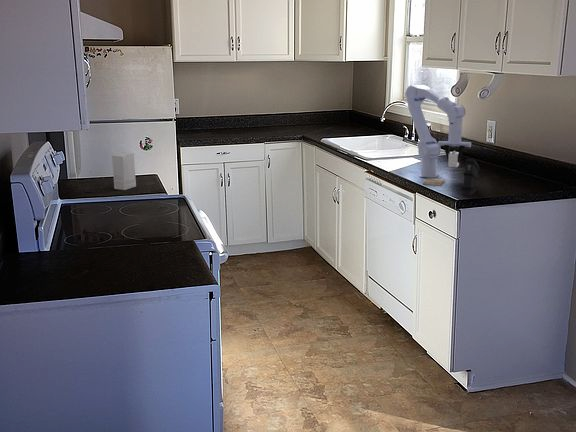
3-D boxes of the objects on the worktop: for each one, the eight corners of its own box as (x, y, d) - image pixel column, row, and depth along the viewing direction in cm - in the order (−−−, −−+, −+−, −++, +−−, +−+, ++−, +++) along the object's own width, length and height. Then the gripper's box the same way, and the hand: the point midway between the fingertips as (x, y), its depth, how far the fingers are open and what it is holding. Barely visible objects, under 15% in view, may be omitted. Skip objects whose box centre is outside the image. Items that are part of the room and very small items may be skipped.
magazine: (460, 193, 272) (465, 158, 274) (466, 200, 283) (472, 167, 286) (469, 193, 270) (474, 158, 272) (475, 201, 282) (481, 167, 284)
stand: (426, 181, 305) (426, 177, 304) (443, 182, 302) (443, 179, 301) (423, 184, 297) (423, 181, 297) (440, 185, 295) (441, 182, 294)
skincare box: (126, 185, 304) (123, 152, 300) (137, 186, 301) (134, 153, 297) (113, 189, 297) (110, 154, 293) (124, 190, 294) (122, 155, 290)
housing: (449, 164, 306) (450, 150, 304) (458, 165, 304) (459, 150, 303) (448, 166, 300) (448, 152, 299) (457, 167, 299) (457, 152, 297)
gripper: (437, 132, 298) (436, 162, 301) (470, 133, 292) (468, 164, 296) (440, 130, 304) (438, 160, 307) (472, 132, 299) (470, 161, 302)
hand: (453, 161), depth 302 cm, fingers closed on housing, 4 cm apart
